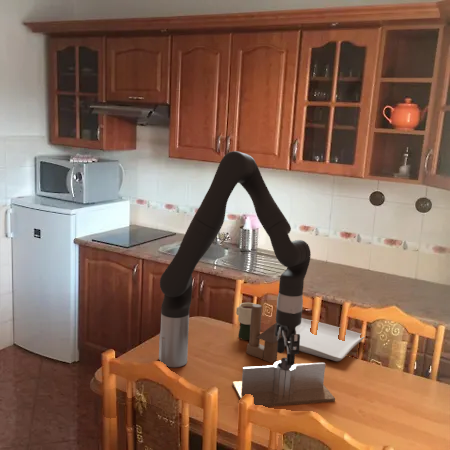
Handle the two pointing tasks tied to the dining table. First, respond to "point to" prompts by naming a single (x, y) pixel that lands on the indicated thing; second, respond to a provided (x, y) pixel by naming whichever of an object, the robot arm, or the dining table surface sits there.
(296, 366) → the hinge stand
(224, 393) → the dining table surface
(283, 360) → the hinge pin
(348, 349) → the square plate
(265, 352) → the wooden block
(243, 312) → the character mug
